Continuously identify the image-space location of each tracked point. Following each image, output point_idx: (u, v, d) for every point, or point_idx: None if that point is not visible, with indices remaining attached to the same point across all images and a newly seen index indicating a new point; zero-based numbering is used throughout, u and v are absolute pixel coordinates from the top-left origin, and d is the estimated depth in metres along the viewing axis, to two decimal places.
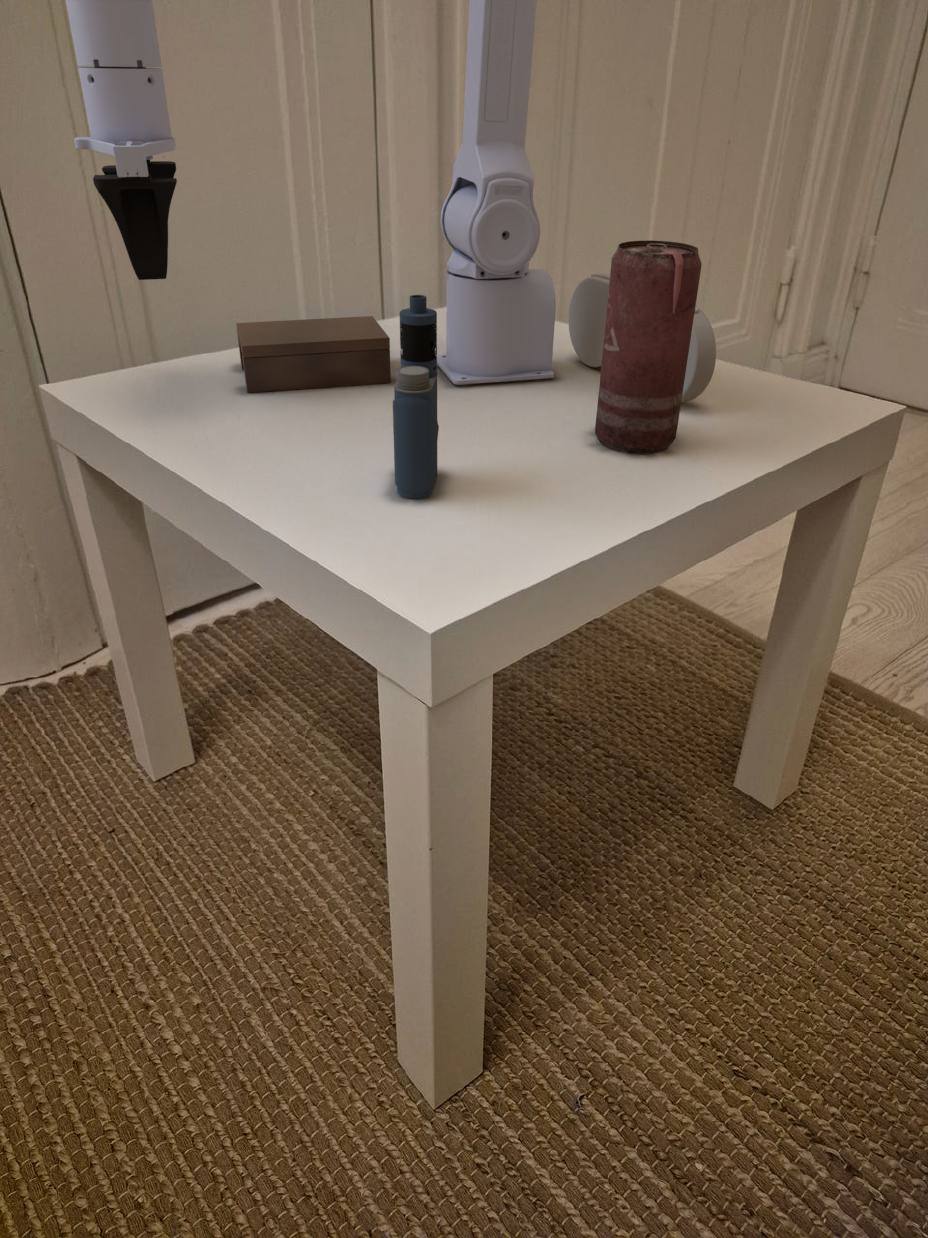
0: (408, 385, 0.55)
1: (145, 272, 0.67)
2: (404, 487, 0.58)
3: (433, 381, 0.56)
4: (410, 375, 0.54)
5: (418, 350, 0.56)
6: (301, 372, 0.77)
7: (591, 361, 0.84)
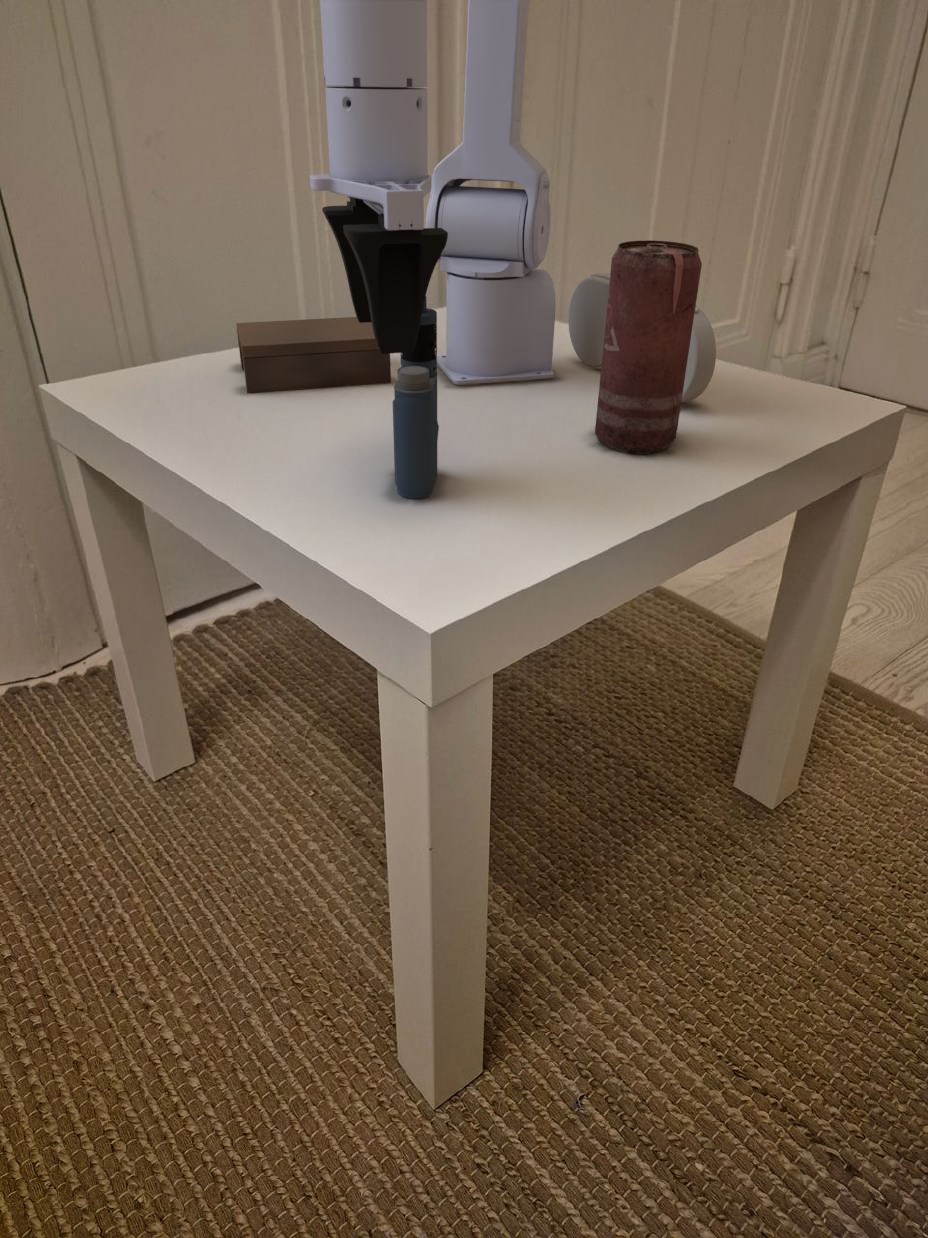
0: (408, 385, 0.55)
1: (390, 344, 0.53)
2: (404, 487, 0.58)
3: (433, 381, 0.56)
4: (410, 375, 0.54)
5: (418, 350, 0.56)
6: (301, 372, 0.77)
7: (591, 361, 0.84)
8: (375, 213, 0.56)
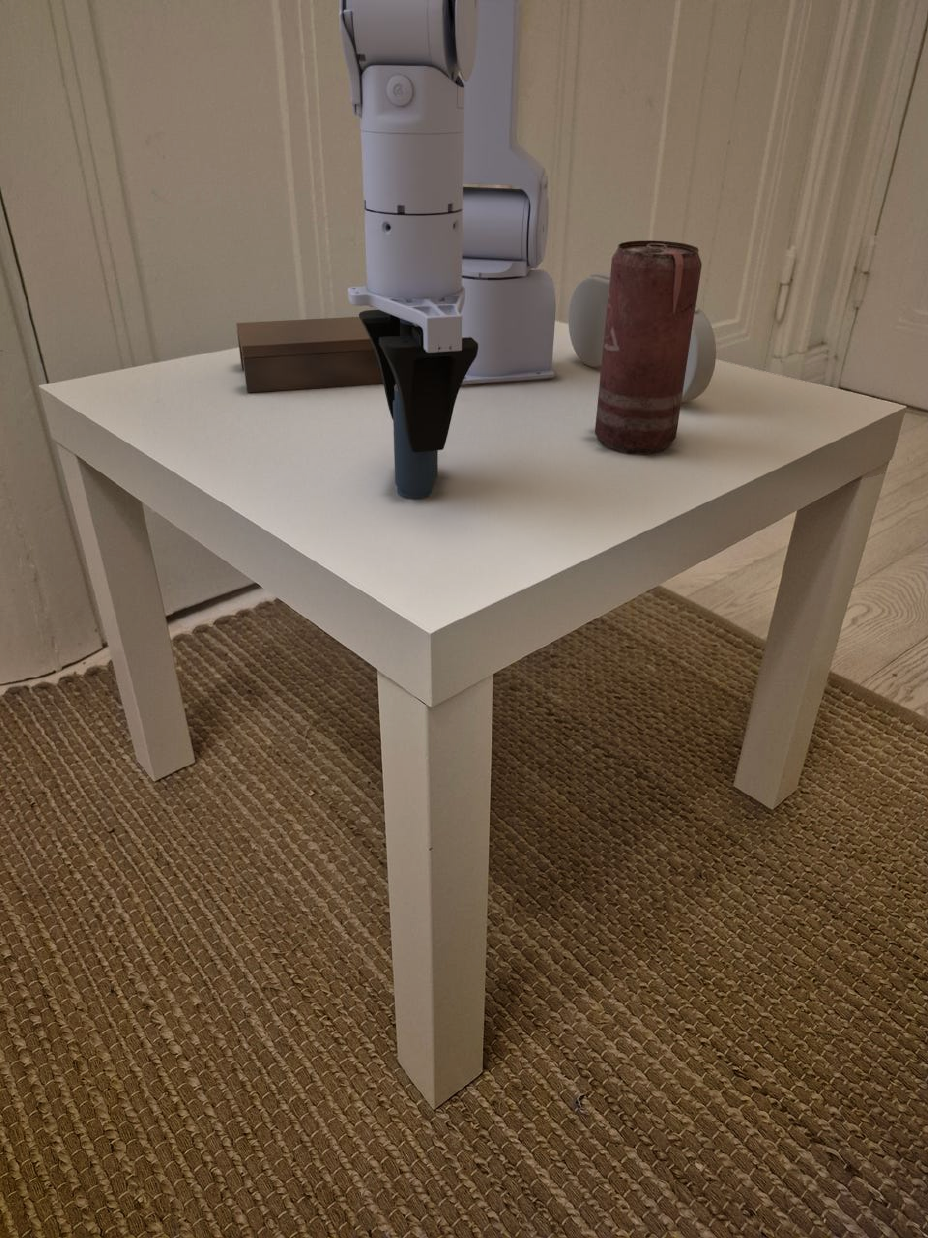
0: None
1: (422, 444, 0.56)
2: (404, 487, 0.58)
3: None
4: None
5: None
6: (301, 372, 0.77)
7: (591, 361, 0.84)
8: None
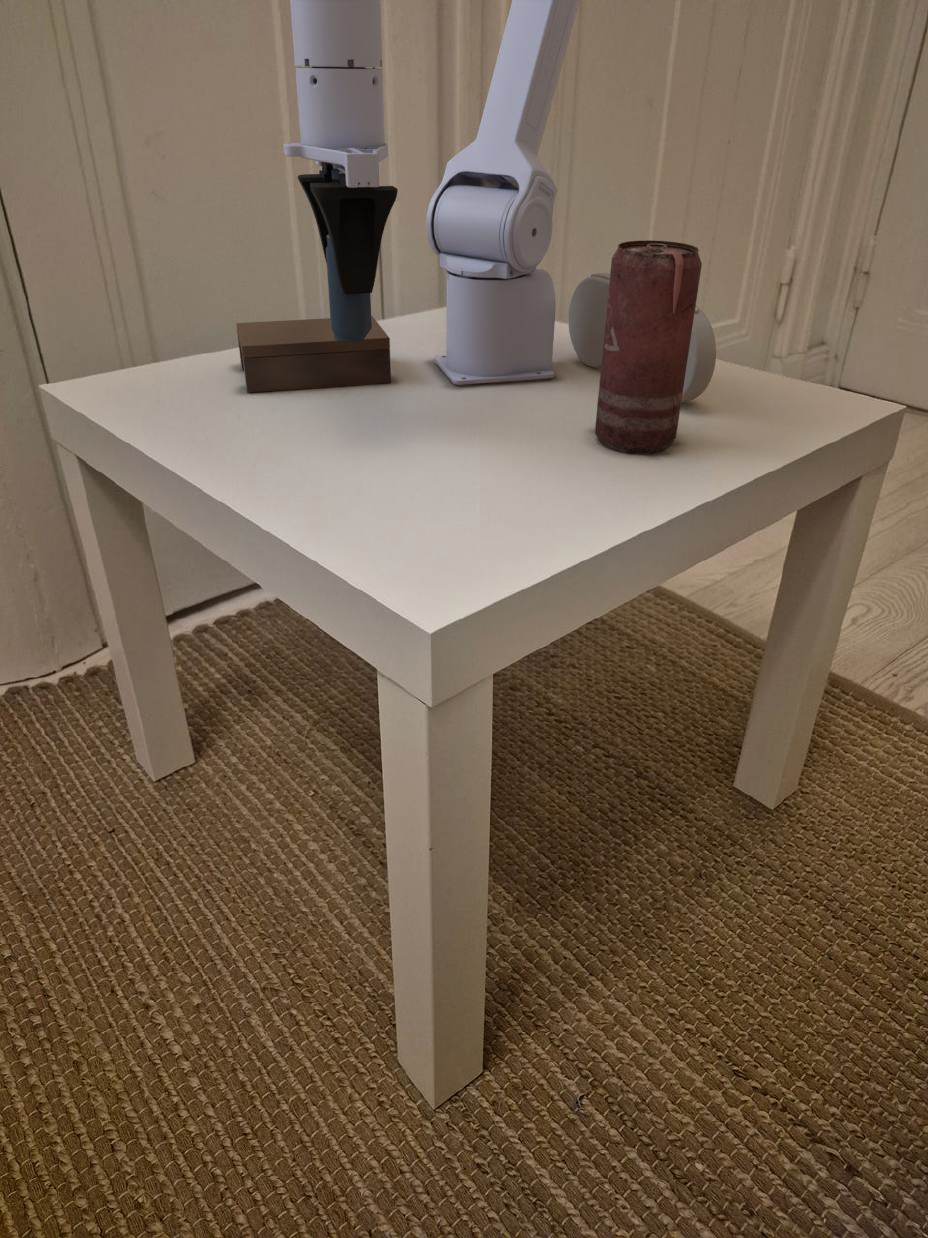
0: None
1: (352, 286, 0.63)
2: (339, 331, 0.65)
3: None
4: None
5: None
6: (301, 372, 0.77)
7: (591, 361, 0.84)
8: None
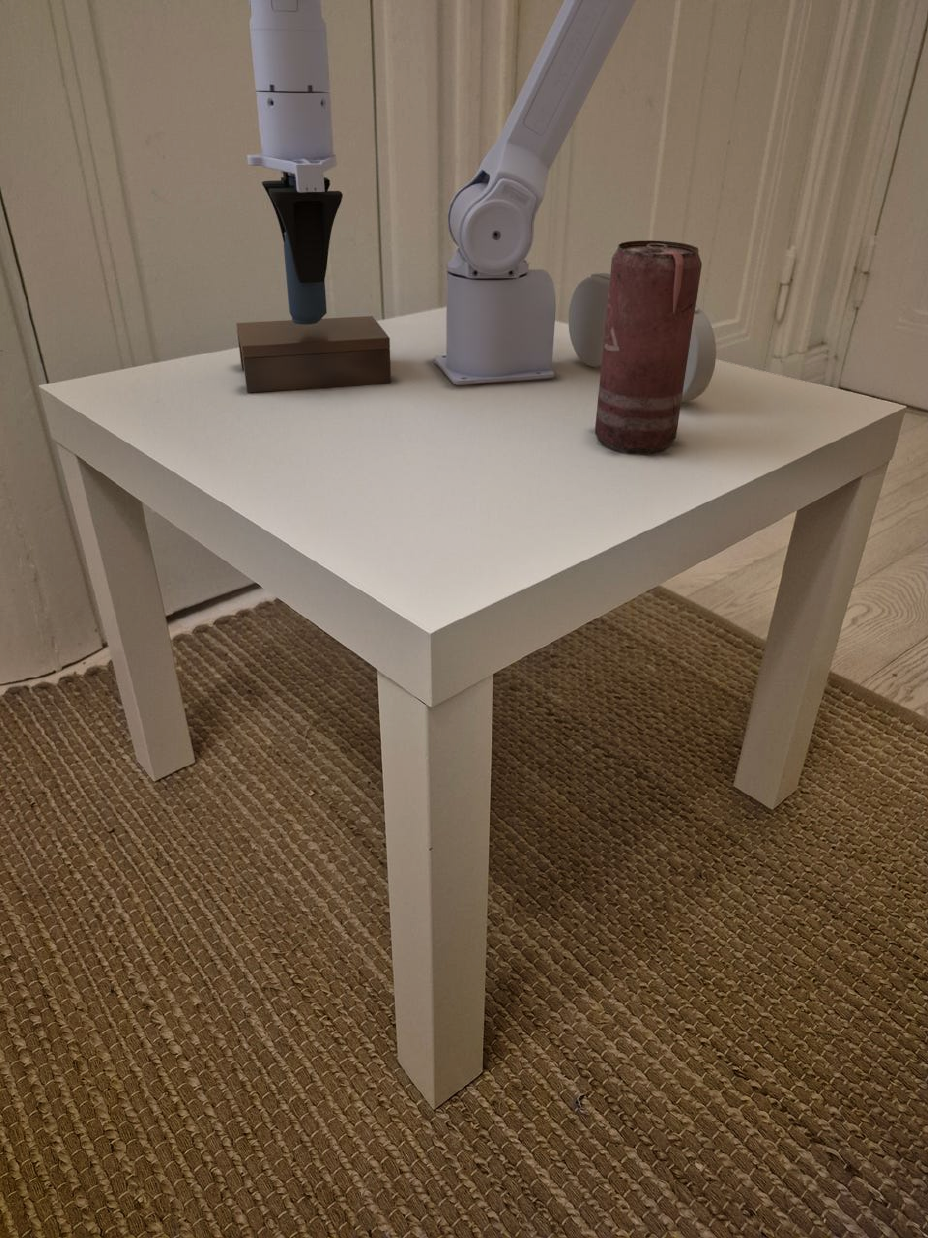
0: None
1: (306, 276, 0.74)
2: (296, 314, 0.76)
3: None
4: None
5: None
6: (301, 372, 0.77)
7: (591, 361, 0.84)
8: None
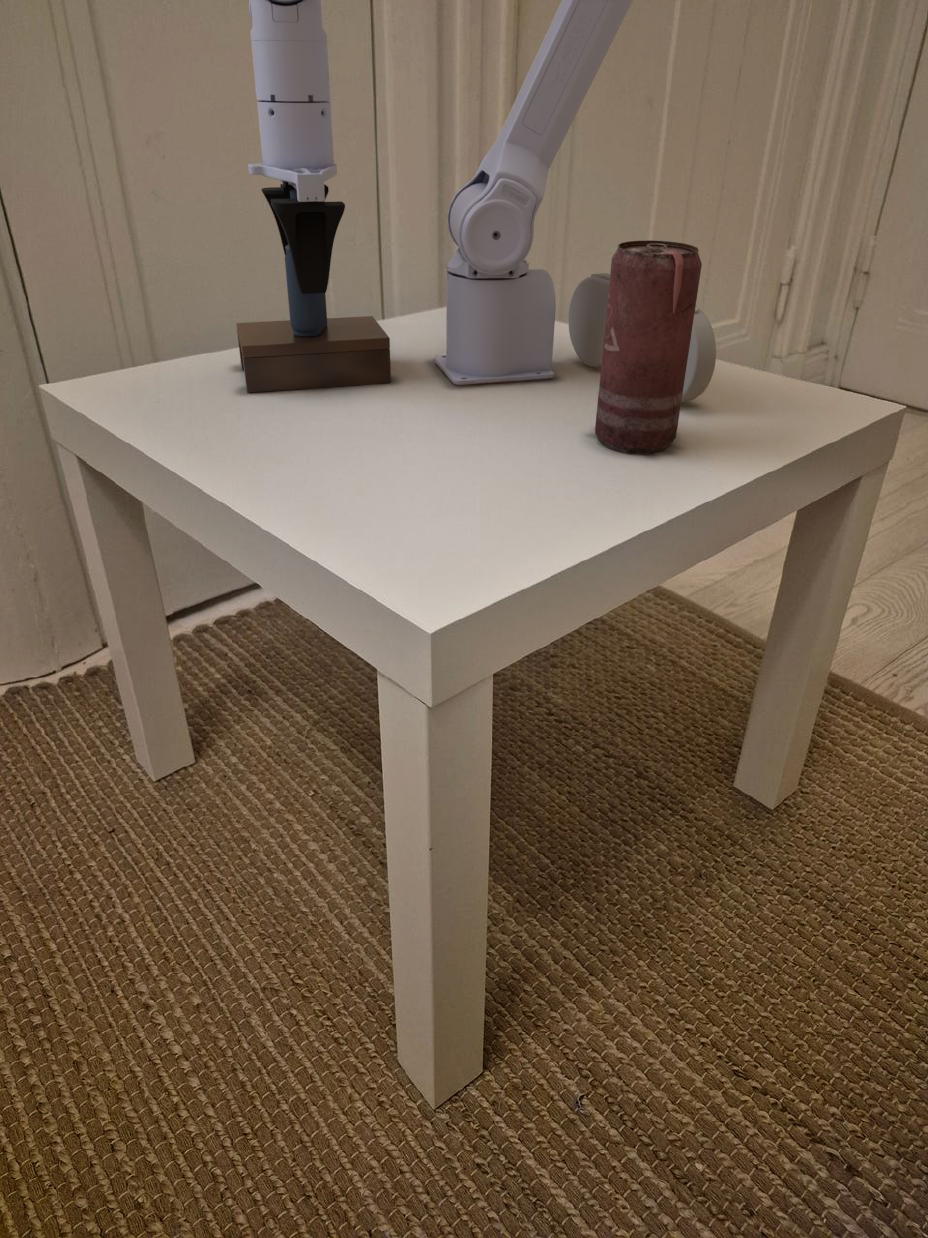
0: None
1: (308, 287, 0.73)
2: (296, 327, 0.76)
3: None
4: None
5: None
6: (301, 372, 0.77)
7: (591, 361, 0.84)
8: None
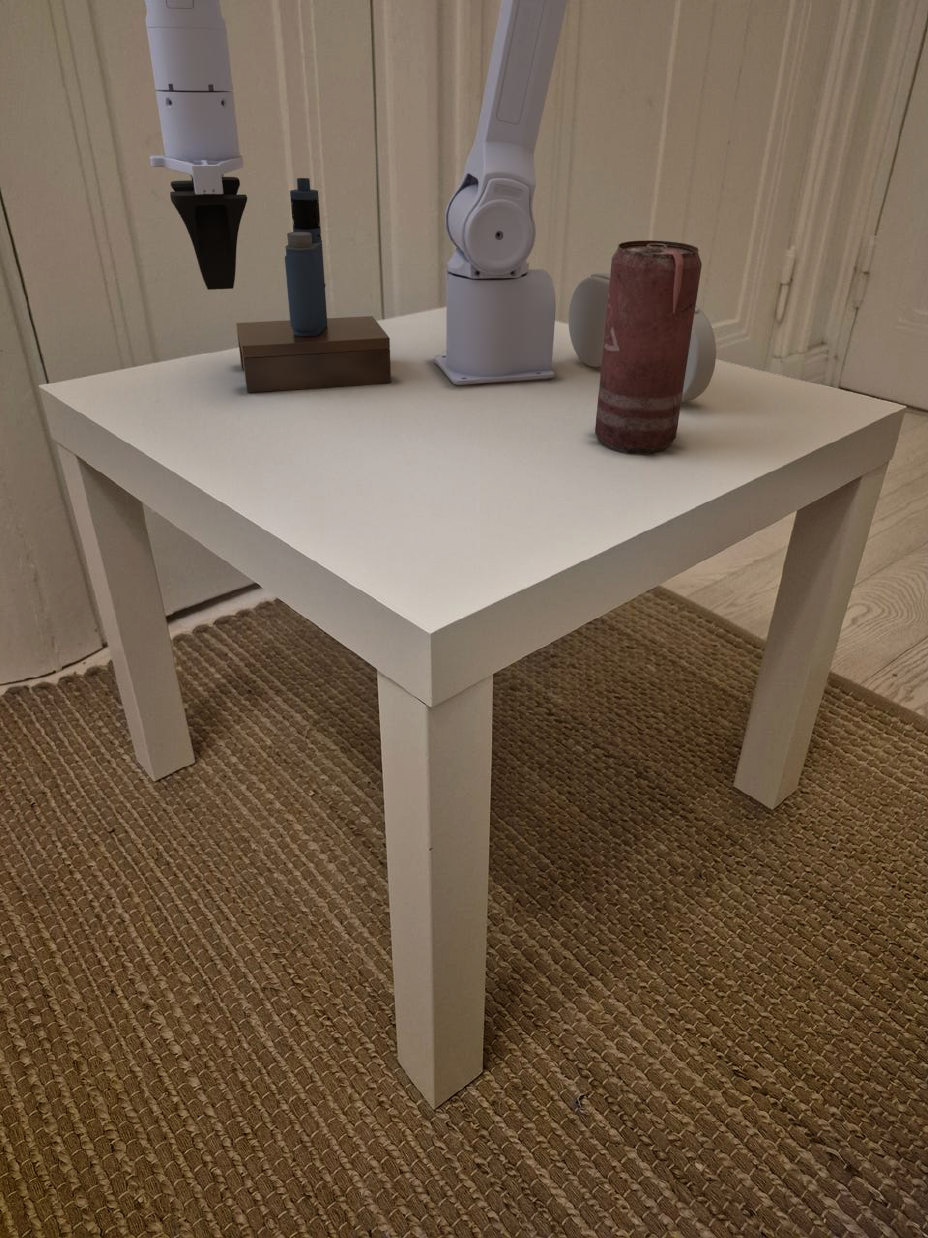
0: (295, 243, 0.73)
1: (214, 282, 0.71)
2: (296, 327, 0.76)
3: (316, 244, 0.75)
4: (296, 235, 0.73)
5: (304, 219, 0.74)
6: (301, 372, 0.77)
7: (591, 361, 0.84)
8: None
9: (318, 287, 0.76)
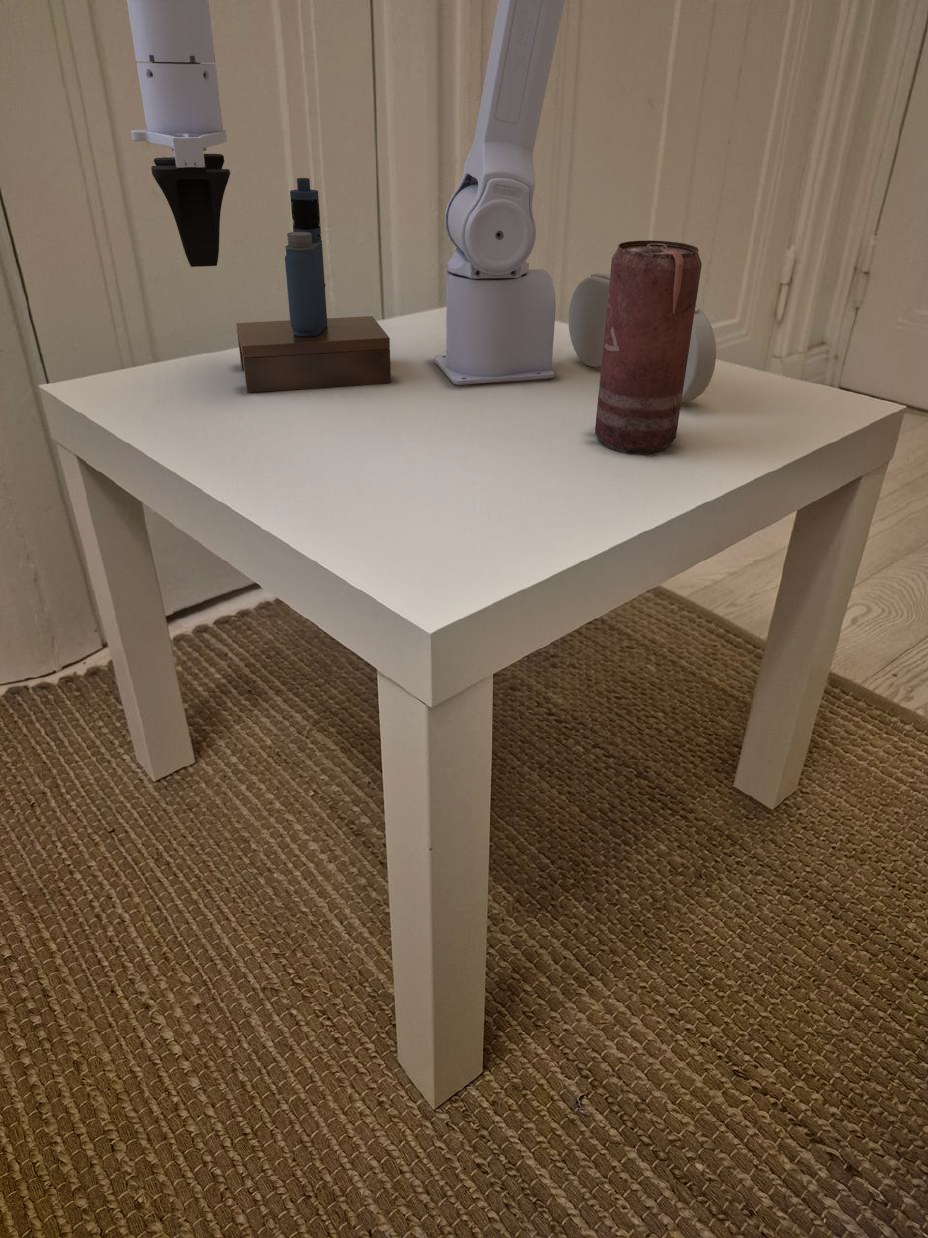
0: (295, 243, 0.73)
1: (197, 259, 0.70)
2: (297, 327, 0.76)
3: (316, 244, 0.75)
4: (296, 235, 0.73)
5: (304, 219, 0.74)
6: (301, 372, 0.77)
7: (591, 361, 0.84)
8: None
9: (318, 287, 0.76)
